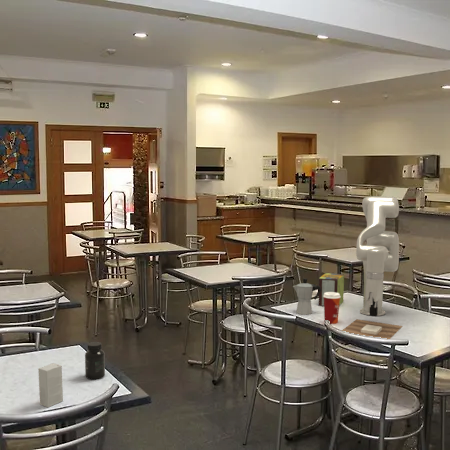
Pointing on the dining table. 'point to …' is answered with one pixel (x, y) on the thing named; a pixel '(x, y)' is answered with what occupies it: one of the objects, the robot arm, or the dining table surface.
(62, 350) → the dining table surface
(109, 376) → the dining table surface
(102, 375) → the supplement bottle
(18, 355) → the dining table surface
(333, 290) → the protein box
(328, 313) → the coffee cup
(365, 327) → the tile
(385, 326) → the board
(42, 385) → the skincare box
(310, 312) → the coffee maker
